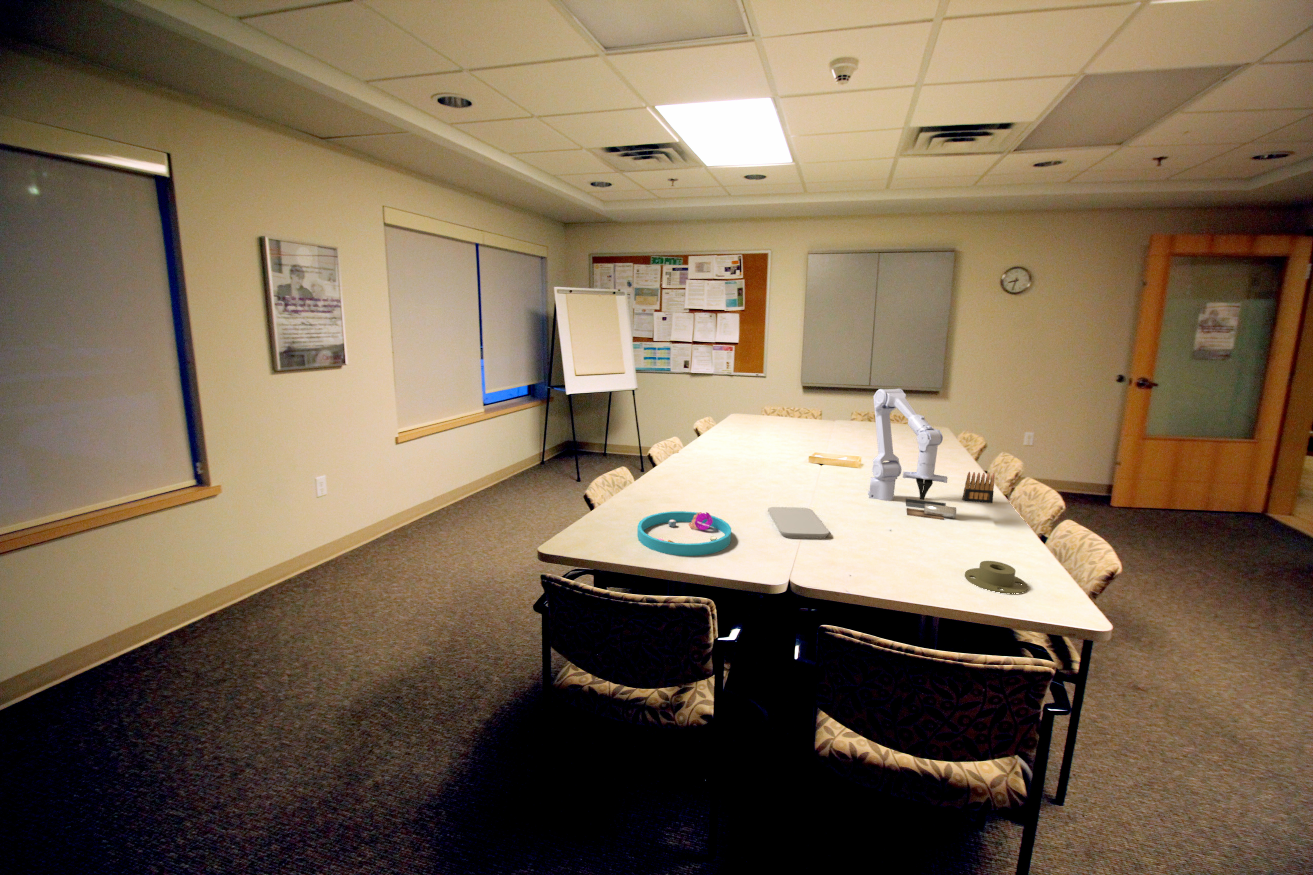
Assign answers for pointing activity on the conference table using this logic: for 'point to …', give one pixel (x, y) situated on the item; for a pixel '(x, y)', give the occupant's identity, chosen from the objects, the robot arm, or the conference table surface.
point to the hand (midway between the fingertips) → (921, 499)
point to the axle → (940, 511)
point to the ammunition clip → (979, 489)
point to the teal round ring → (697, 520)
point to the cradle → (921, 503)
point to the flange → (996, 577)
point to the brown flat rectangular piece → (921, 514)
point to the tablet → (798, 522)
